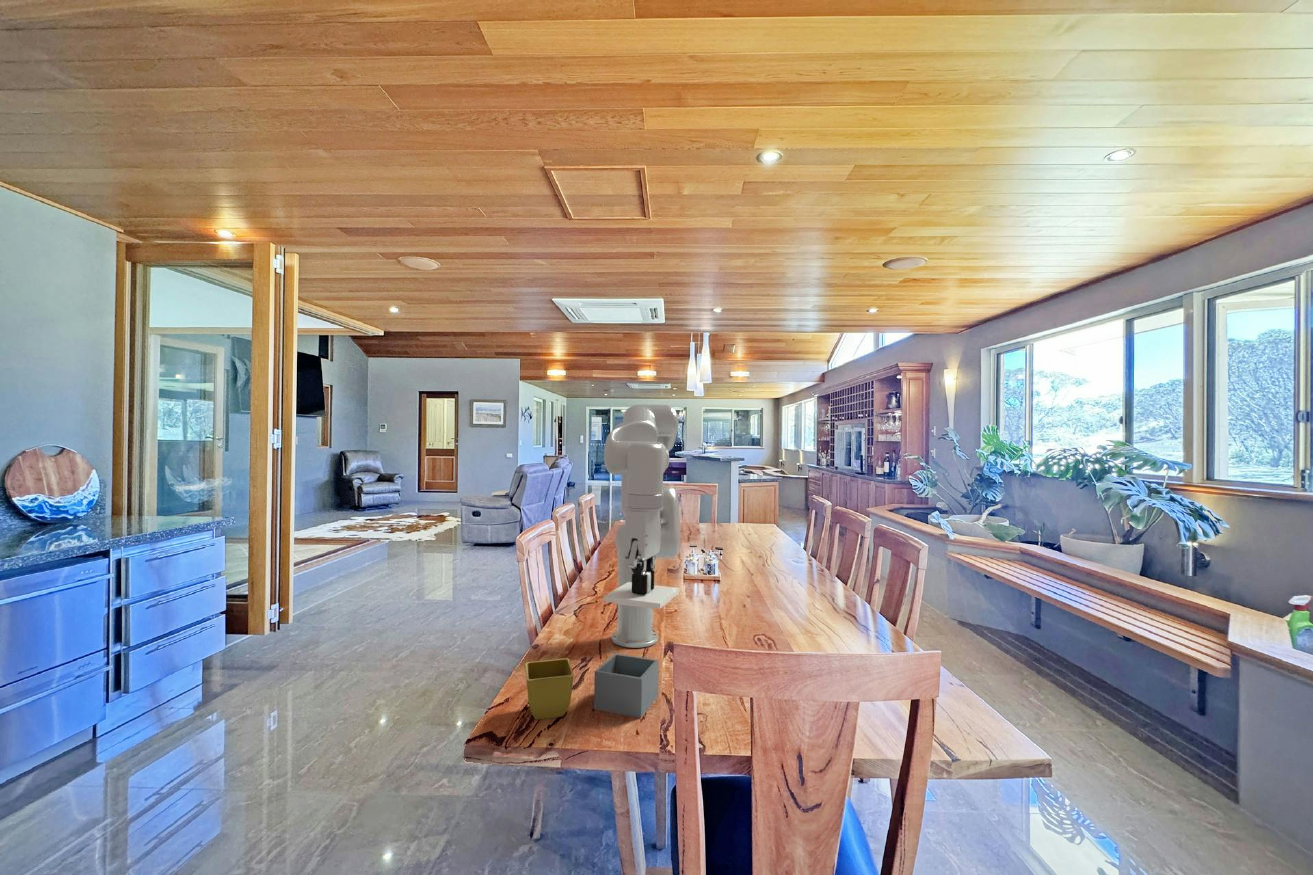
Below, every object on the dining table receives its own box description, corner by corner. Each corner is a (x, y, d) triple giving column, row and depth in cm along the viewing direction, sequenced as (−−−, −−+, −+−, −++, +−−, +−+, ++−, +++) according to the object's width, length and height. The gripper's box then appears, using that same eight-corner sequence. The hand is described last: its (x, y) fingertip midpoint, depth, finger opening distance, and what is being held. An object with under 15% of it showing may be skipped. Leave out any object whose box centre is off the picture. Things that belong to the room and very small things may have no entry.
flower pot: (525, 728, 102) (526, 679, 102) (524, 706, 110) (524, 661, 111) (573, 722, 104) (574, 675, 105) (568, 701, 113) (568, 657, 113)
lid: (627, 590, 121) (628, 563, 121) (679, 596, 117) (679, 569, 117) (603, 605, 110) (604, 576, 110) (660, 612, 106) (660, 582, 106)
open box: (614, 690, 118) (614, 653, 118) (658, 698, 115) (658, 660, 115) (593, 711, 109) (594, 671, 109) (641, 720, 105) (641, 679, 105)
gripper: (642, 497, 122) (641, 580, 122) (611, 505, 107) (609, 599, 107) (674, 499, 120) (673, 583, 120) (646, 507, 104) (645, 604, 104)
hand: (643, 590), depth 113 cm, fingers closed on lid, 3 cm apart
